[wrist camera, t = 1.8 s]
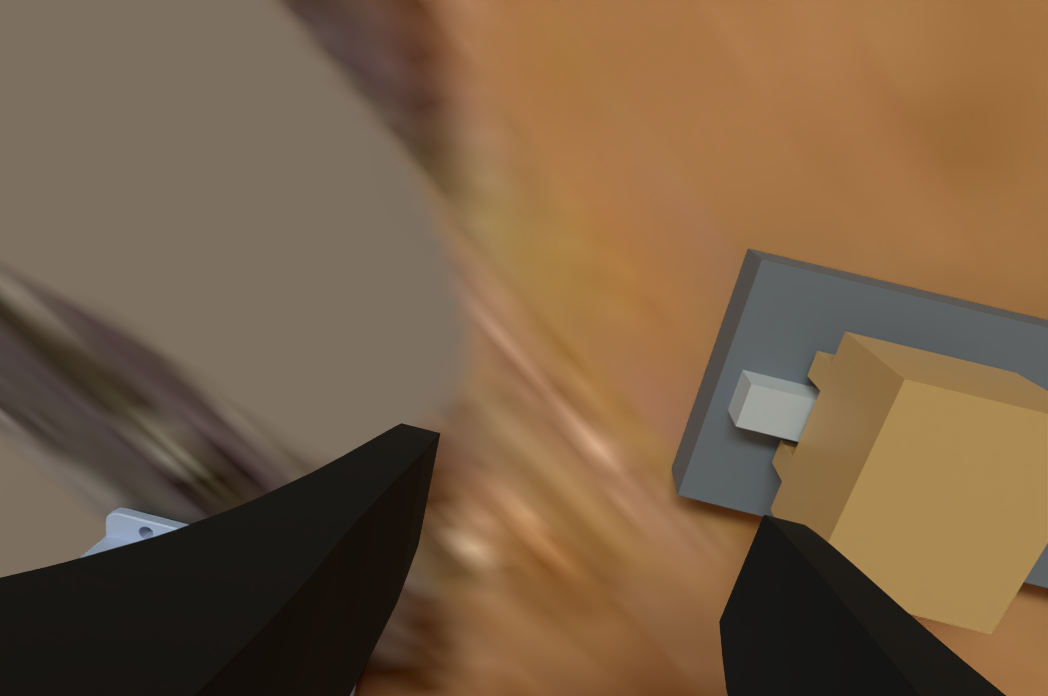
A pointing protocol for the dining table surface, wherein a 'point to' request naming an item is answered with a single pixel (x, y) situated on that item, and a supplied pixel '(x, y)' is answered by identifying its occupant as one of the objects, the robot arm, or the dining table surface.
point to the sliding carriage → (923, 476)
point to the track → (789, 350)
